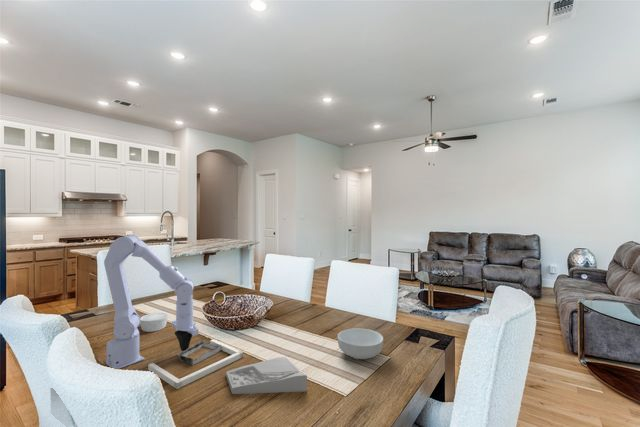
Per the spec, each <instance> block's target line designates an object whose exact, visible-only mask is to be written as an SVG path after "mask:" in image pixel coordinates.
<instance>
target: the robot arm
mask: <svg viewBox="0 0 640 427" xmlns="http://www.w3.org/2000/svg"><path fill="white" fill-rule="evenodd" d="M129 256H131V257H134V258H135V257H136V258H142V259H143V261H145V262H147V263H148V264H149V265H150V266H151V267H153V268H154V269H155V270H156V271H158V274H159V276H158V277H159V278H160V280H162V282H164V283H165V284H166V285H167V286H168V287H170V289H172V290H173V291H174V294H175V296H176V303H175V305H176V307H175V309H176V310H175V311H176V312H175V316H176V318H175V320H173V321H171V327H172V328H175V329H176V331H175V332H174V335H175V337H176V338H177V341H178V343H179V344H178V345H179V348H180V350H181V352H184V351H185V350H187V349H188V348H190V344H191V340H192V338H193V337H195V336H198V335H199V328H197V327H196V326H195V325H196V324H197V323H196V322H195V321H194V300H193V299H194V296H193V293H194V289H195V288H194V286H195V285H194V283H193V281H192V280H191V279H189V278H188V277H187V276H184V275H183V274H182V273H181V272H180V271H179V268H178V267H177V266H174V265H167V264H166V263H165V262H164V261H163V260H162V259H161V258H160V257H159V256H158V255H157V254H156V253H155V252H154V251H153V250H152V249H151V248H150V247H149V245H147V244H146V243H145V241H143V240H141V239H140V238H139V237H138V236H137V235H135V234H127V235H124V236H120V237H117V238H116V239H114V241H113V242H112V243H111V244H110V245H109V249H108V251H107V253H106V256H105V258H104V260H103V261H104V262H103V263H104V264H103V265H104V268H105V273H106V277H107V281H108V287H109V290H110V294H111V295H110V296H111V298H112V303H113V309H114V311H115V313H114V318H113V322H114V326H113V331H112V333H113V336H114V338H113V339H111V340H108V341H107V342H106V345H105V346H106V347H105V352H106V353H105V358H106V359H105V361H104V362H105V364H106V365H107V366H108V367H110V368H111V367H112V368H117V370H120V369H122V368H124V367H128V366H130V365H133V364H135V363H139V362H141V361H144V360H145V357H143V356H142V355H140V330H139V328H138V327H139V326H141V323H140V322H141V319H140V318H141V316H140V315H139V314H138V313H137V311H136V308H135V307H134V305H133V303H132V299H131V295H130V291H129V290H130V289H129V287H128V282H127V278H126V274H125V269H124V262H125V261H126V260H127V258H128V257H129ZM112 368H111V369H112Z"/></svg>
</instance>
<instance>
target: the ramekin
mask: <svg viewBox="0 0 640 427" xmlns="http://www.w3.org/2000/svg"><path fill="white" fill-rule="evenodd" d="M168 317H169V315H168V313H166V312H153V313H149V314H148V313H147V314H145V315H142V316H140V319H141V322H140V328H141V331H143V332H144V333H145V332H147V333H150V332H153V333H154V332H158V331H160V330H164V328H165V327H166V326H167V322H168Z"/></svg>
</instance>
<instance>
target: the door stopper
mask: <svg viewBox="0 0 640 427" xmlns="http://www.w3.org/2000/svg"><path fill="white" fill-rule="evenodd" d="M225 376H226V380H227V383H228V385H229V388H230V392H231V394H232V395H245V394H246V395H248V394H271V393H294V392H295V393H297V392H298V393H300V392H301V393H302V392H307V391H308V388H307V387H308V382H307V381H308V380H307V379H308V375H307V374H305V373H303V372H301V371H300V369H298V368H297V367H296V365H294V364H293V362H291V360H289V359H288V358H287V357H286V356H282V357H281V356H280V357H274V358H271V359H267V360H263V361H259V362H256V363H252V364H247V365H243V366H239V367H237V368H233V369H230V370H227V371H225Z"/></svg>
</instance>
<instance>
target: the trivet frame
mask: <svg viewBox="0 0 640 427" xmlns="http://www.w3.org/2000/svg"><path fill="white" fill-rule="evenodd" d="M209 342H210V343H209V344H212V345H214V346H217V345H218V346H220V345H221V350H220V351H222V352H224V353H227V354H229V356H226V357H225V358H222V359H220V360H218V361H216V362H213V363H211V364H209V365H207V366H205V367H203V368H200V369H198V370H196V371H193V372H191V373H190V374H187V375H186V376H182V377H181V378H178V377H176V376H175V375H174V374H172V373H170V372H168V371H167V370H166V369H163V368H162V367H160V366H158V365H157V364H156V363H154V362H151V363H149V364H148V365H147V367H148V368H147V369H148V372H151V371H152V372H155V373H156V374H157V375H158V376H159V377H158V376H157V375H156V376H157V377H158V378H160V379H161V380H163V381H164V382H165V383H166V384H168V385H170V386H172V387H173V388H175V389H176V390H177V389H180V388H182V387H184V386H186V385H188V384H190V383H193V382H195V381H197V380H199V379H200V378H203V377H205V376H207V375H210V374H211V373H213V372H215V371H218V370H220V369H221V368H223V367H226V366H228V365H230V364H232V363H233V362H236V361H238V360H240V359H242V358H244V352H243V351H241V350H239V349H237V348H235V347H233V346H231V345H227V344H225V343H223V342H221V341H219V340H216V339H214V338H213V339H211V340H210V341H209ZM152 372H151V373H152Z"/></svg>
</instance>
